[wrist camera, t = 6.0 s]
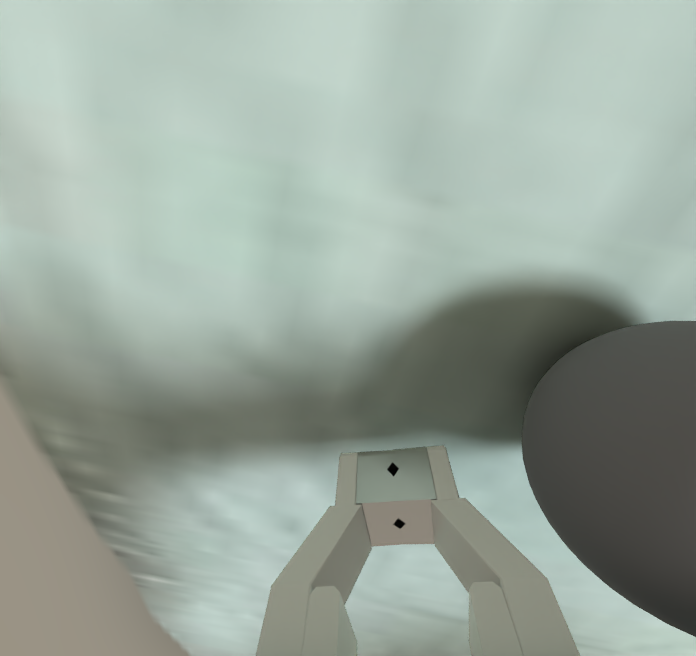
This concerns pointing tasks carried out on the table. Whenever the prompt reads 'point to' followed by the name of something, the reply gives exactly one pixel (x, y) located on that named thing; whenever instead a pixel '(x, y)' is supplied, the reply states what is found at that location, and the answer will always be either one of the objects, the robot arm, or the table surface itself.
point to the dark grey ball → (623, 462)
